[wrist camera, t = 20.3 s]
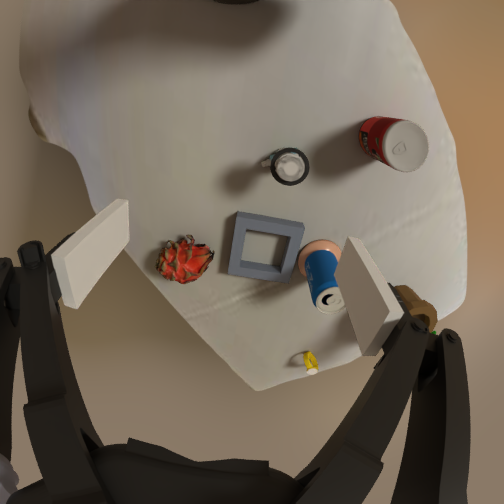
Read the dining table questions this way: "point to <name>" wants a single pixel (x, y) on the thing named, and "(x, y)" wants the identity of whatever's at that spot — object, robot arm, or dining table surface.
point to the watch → (310, 369)
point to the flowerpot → (418, 307)
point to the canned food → (395, 142)
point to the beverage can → (324, 281)
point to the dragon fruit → (183, 261)
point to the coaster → (314, 247)
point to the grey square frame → (270, 226)
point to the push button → (288, 166)
